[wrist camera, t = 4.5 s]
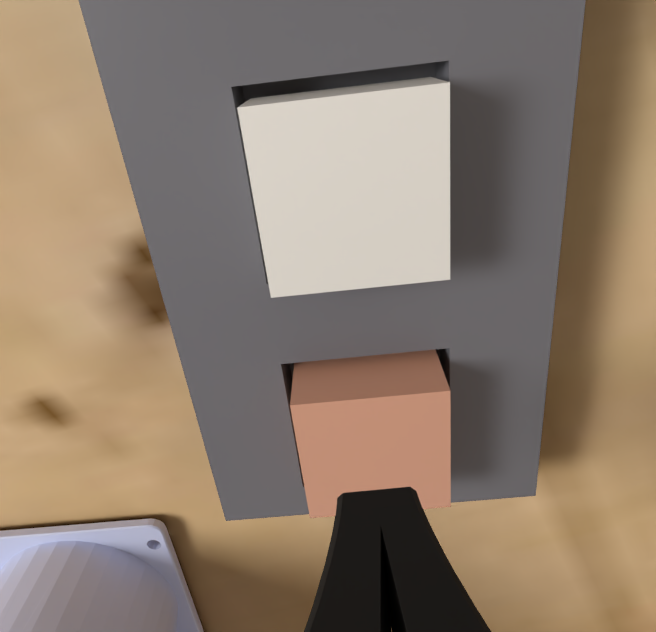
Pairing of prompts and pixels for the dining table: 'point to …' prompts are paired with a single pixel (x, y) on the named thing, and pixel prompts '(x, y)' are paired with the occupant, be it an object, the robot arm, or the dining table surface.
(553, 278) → the keypad
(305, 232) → the cream key
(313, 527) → the dining table surface
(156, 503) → the dining table surface
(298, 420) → the terracotta key
